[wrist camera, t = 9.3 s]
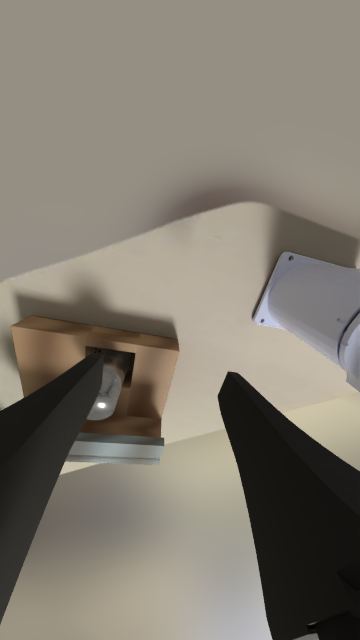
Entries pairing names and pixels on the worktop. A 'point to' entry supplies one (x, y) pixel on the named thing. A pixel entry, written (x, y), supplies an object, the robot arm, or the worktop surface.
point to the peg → (110, 383)
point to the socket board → (135, 396)
